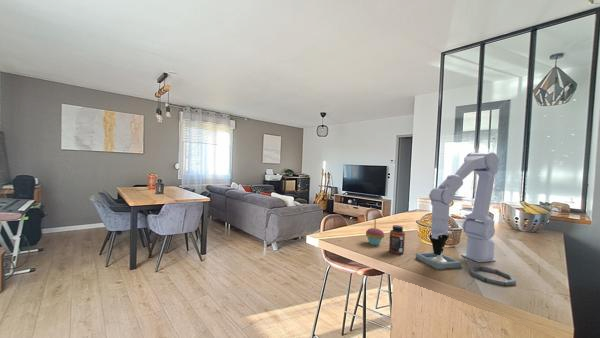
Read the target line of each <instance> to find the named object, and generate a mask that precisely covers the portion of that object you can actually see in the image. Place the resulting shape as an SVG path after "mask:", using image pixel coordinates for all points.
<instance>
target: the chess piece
mask: <svg viewBox="0 0 600 338" xmlns="http://www.w3.org/2000/svg"><path fill="white" fill-rule="evenodd" d="M441 238H442V236H441ZM442 249H443V247H442ZM443 250H444V249H443ZM442 254H443V252H441V255H438V256H437V257H435V258H433V261H435V262H437V263H444V262H447V261H446V260H445V259H443V257H442Z"/></svg>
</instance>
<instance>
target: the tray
mask: <svg viewBox="0 0 600 338" xmlns="http://www.w3.org/2000/svg"><path fill="white" fill-rule="evenodd" d="M437 256H438V255H436V254H434V251H433V252H432V251H431V252H430V251H429V252H416V253H415V259H416V260H418V261H421V262H423V263H424V264H426V265H428V266H430V267H431V266H432V268H433V267H434V268H433V269H435V268H436V269H435V270H437V269H440V270H447V269H446V268H451V269H458V268H460V267H461V268H462V266H463V265H462V263H463V262H462V261H460V260H458V259H455V258H453V257H451V256H448V255H446V254H444V253H442V257H443V259H445V260H446V261H447V262H444V263H437V262H435V261H433V258H435V257H437Z"/></svg>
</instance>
